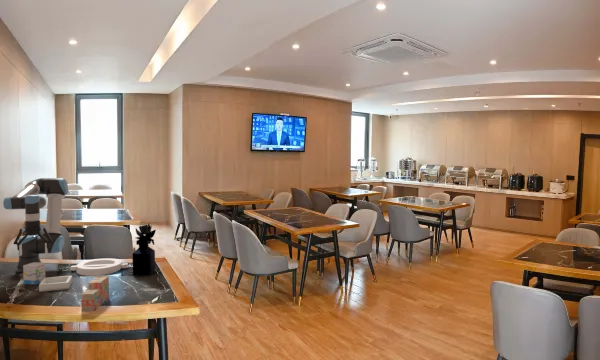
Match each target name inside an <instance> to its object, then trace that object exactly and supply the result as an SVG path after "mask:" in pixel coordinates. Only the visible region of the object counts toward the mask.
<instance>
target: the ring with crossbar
mask: <svg viewBox="0 0 600 360" xmlns="http://www.w3.org/2000/svg"><path fill="white" fill-rule="evenodd" d="M122 262H123V261H122V260H121V259H119V258H110V257H109V258H107V257H106V258H94V259H93V258H92V259H89V260H85V261H81V262H79V263H77V264H76V265H71V266H70V271H76V275H80V276H88V277H89V276H91V277H92V276H96V277H97V276H106V275H109V274H113V272H114V273H116V271H117V272H119V271H121V270H122V269H127V268H129V263H128V262H126V263H122ZM121 268H122V269H121ZM120 269H121V270H120ZM118 270H119V271H118Z"/></svg>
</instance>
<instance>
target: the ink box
mask: <svg viewBox="0 0 600 360" xmlns="http://www.w3.org/2000/svg"><path fill="white" fill-rule="evenodd" d="M22 273H23V275H22V276H23V285H32V286H34V285H39V284H40V283H41V282H42V280H43V279H44V278H47V277H46V263H45V262H41V263H40V262H33V263H30V264H27V265H23V272H22Z"/></svg>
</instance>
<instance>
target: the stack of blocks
mask: <svg viewBox="0 0 600 360" xmlns="http://www.w3.org/2000/svg"><path fill="white" fill-rule="evenodd" d="M109 298H110V282H109V275H107V276H106V275H97V276H96V277H94V278H93V279H92V280H90V281H89V282H88V289H86V290H85V291H83V292H82V293H81V300H80V301H81V303H80V305H81V306H80V307H81V312H95V311H96V310H97V309H98V308H99V307H100V306H101V305H102V304H104V303H105V302H106V301H107V300H108V299H109ZM97 307H98V308H97ZM96 308H97V309H96ZM95 309H96V310H95Z"/></svg>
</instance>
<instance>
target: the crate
mask: <svg viewBox="0 0 600 360" xmlns="http://www.w3.org/2000/svg"><path fill="white" fill-rule="evenodd" d="M72 284H73V275H60V276H59V275H58V276H50V277H48V276H47V277H46V278H44V279H43V280H42V282H41V283H39V284H38V286H39V287H38V291H39V293H41V292H49V291H60V290H69V289H70V287H71V285H72Z"/></svg>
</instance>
